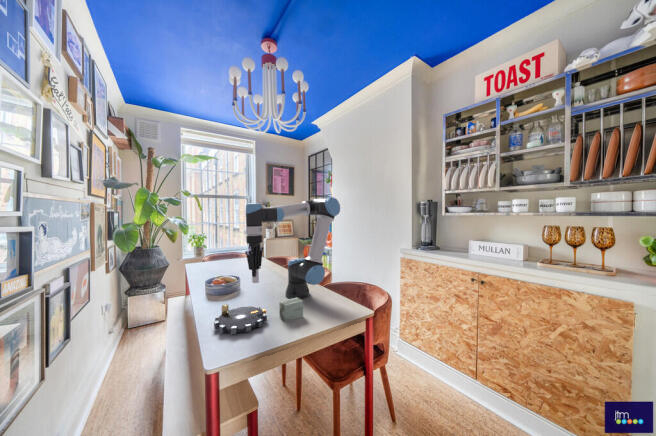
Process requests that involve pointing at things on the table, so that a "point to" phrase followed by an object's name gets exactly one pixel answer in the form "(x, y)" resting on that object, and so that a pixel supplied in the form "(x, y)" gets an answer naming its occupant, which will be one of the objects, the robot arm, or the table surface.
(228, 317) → the sprocket wheel
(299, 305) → the link block
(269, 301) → the table surface
